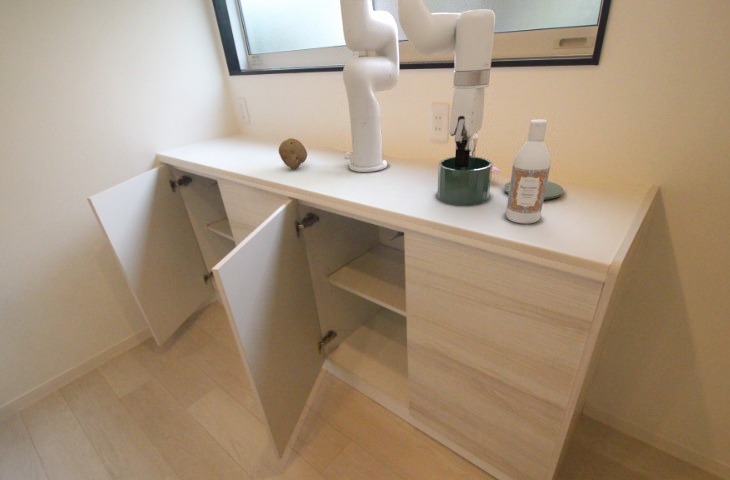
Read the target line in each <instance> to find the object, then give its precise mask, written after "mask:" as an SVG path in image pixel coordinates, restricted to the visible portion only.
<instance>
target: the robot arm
mask: <svg viewBox="0 0 730 480" xmlns="http://www.w3.org/2000/svg"><path fill="white" fill-rule="evenodd" d="M339 4H340V5H339V6H340V14H341V22H342V31H343V40H344V43H345V46H346V47H347V49H348V50H349V51H352V52H374V54H375V55H369V56H360V57H359V56H358V57H353V58H351V59H350V60H348V61H347V62H346V63H345V65H344V67H343V70H342V78H343V79H342V80H343V85H344V88H345V92H346V96H347V102H348V110H349V121H350V122H349V123H350V135H351V145H352V147H351V148H352V152H350V151H347V152H345V154H344V160H349V161H350V163H349V166H348V167H349V170H351V171H353V172H359V173H370V172H377V171H381V170H384V169H386V168H387V167H388V161H387V160H385V159H383V141H382V140H383V139H382V117H381V114H382V113H381V106H380V104H379V102H378V99H377V98H376V96H375V94H374V93H378V92H385V91H388V90H392V89H393V88H395V87H396V85H397V84H398V81H399V79H400V78H399V77H400V54H399V53H400V51H399V35H398V25H397V23H396V21H395V19H394V17H393V15H391V14H390V13H389V12H388V11H384V10H374V9H373V3H372V0H339ZM397 16H398V22H399V25H400V28H401V30H402V32H403V33H404V35H405V37H406V38H407V41H408V42H409V44H410V46H411V47H412V48H413V49H414V50H415V51H416V53H418V54H420V55H423V56H435V55H447V54H449V55H450V54H454V66H453V82H452V83H453V84H452V88H453V89H454V91H453V95H452V104H451V111H450V112H451V113H450V123H449V135H450V137H454V142H455V156H454V157H455V166H456V167H468V166H469V156H470V150H468V149H469V142H470V136H471V135H473V134H474V133H477V134H478V132H479V131H480V130H481V129H482V126H483V120H484V110H485V109H484V108H485V94H486V93H485V91H486V90H485V88H488V87H489V86H490V76H491V68H492V55H493V45H494V37H495V26H496V14H495V12H494V11H493V10H492V9H488V8H481V9H471V10H466V11H465V10H464V11H462V12H430V10H429V8H428V7H427V5H426V3H425V2H424V0H397ZM463 133H467V134H466V135H467V136H463ZM463 139H466V143H465V140H463ZM474 161H475V159H474Z"/></svg>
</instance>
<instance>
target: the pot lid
mask: <svg viewBox="0 0 730 480" xmlns="http://www.w3.org/2000/svg"><path fill="white" fill-rule="evenodd" d="M510 182H511V181H509V182H507V183H505V185H504V187H503V188H504V192H505V193H507V194H508V195H509V189H510ZM563 194H564V188H563V187H562V185H560V184H558V183H556V182H552V181H548V180H547V185H546V190H545V195H544V200H552V199H556V198H559V197H561V196H562V195H563Z"/></svg>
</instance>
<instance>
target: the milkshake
mask: <svg viewBox="0 0 730 480" xmlns="http://www.w3.org/2000/svg"><path fill="white" fill-rule="evenodd" d="M466 134H467V133H463V136H467V135H466ZM463 140H465V143H466V139H463ZM478 141H479V134H478V132H477V133H474V134H473V135H471V136H470V142H469V149H468V150H470V156H469V166H468V167H459V170H473V166H474V159H475V157H476V153H477V152H476V151H477V147H478Z"/></svg>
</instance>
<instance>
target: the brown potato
mask: <svg viewBox="0 0 730 480" xmlns="http://www.w3.org/2000/svg"><path fill="white" fill-rule="evenodd" d="M307 151H308V150H307V149H306V147H305V146H304V145H303V143H302V141H300V140H298V139H296V138H290V137H289V138H287V139H285V140H283V141H282V142H281V144H280V145H279V147H278V154H279V157H280V159H281V160H282V162H283V163H284V165H285V166H286V167H288V169H290V170H293V171H294V170H297V169H298V168H299V167H300V166H301V165H302V164H303V163H305V161H307V158H308V152H307Z"/></svg>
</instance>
